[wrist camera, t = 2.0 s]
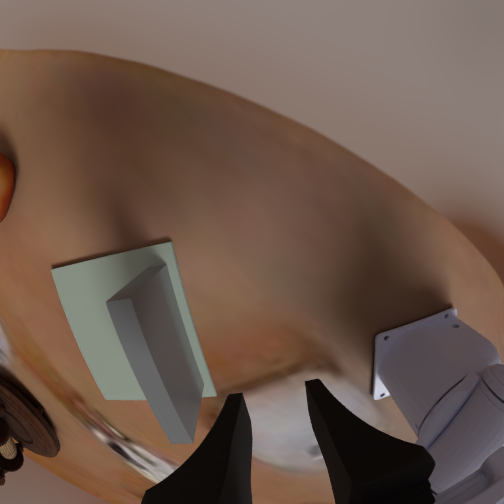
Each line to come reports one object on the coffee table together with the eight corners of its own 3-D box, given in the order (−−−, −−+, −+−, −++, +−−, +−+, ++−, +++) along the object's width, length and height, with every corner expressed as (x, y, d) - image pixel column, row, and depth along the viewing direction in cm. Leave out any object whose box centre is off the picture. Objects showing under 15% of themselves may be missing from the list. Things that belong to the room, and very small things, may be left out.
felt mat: (172, 241, 20) (170, 242, 19) (216, 393, 23) (216, 395, 22) (53, 268, 20) (51, 269, 20) (106, 397, 23) (105, 399, 23)
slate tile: (166, 263, 20) (130, 298, 13) (204, 384, 22) (192, 443, 15) (145, 268, 20) (103, 302, 13) (185, 386, 22) (169, 443, 15)
